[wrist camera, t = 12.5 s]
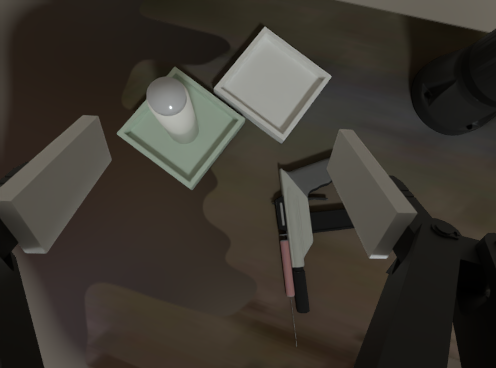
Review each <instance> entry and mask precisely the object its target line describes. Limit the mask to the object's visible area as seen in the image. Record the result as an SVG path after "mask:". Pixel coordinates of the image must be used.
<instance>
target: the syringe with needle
mask: <svg viewBox="0 0 496 368" xmlns="http://www.w3.org/2000/svg"><path fill="white" fill-rule="evenodd" d="M329 160H330V157H329V158H327V159H324V160H321V161H318V162H315V163H312V164H309V165H306V166H304V167H301V168H298V169H295V170H293V171H290V172H287V171H284V170H283V169H282V168H281V169H280V170H279V174H280V182H281V191H282V196H281V197H279V198H278V199H276V200H275V203H272V204H275V206H276V214H277V223H278V229H281V230H284V231H286V232H287V234H280V235H283V236H284V235H287V240H280V245H281V253H282V262H283V270H284V279H285V287H286V296H289V297H291V296H294V295H295V297H296V305H297V312H299V313H307V312H309V311H310V310H309V302H308V294H307V286H306V278H305V271H304V269H303V266H304V257H305V255H306V253H307V251H308V250H309V248H310V246H311V244H312V243H313V235H312V233H317V232H326V231H334V230H342V229H351V228H355V227H354V225H353V223H352V221H351V219H350V217H349V215H348V213H347V211H346V209H338V210H329V211H320V212H311V213H310V212H309V204H308V200H328V198H319V197H314V198H308V195H309V194H310V193H311V192H313V191H316V190H317V189H319V188H321V187H323V186H327V185H329V184H330V183H331V182H332V179H331V177H330V175H329V173H328V171H327V166H328V163H329ZM292 267H293V271H292ZM292 272H293V275H292ZM293 280H294V283H293ZM294 289H295V292H294ZM291 303H292V301H291ZM292 312H293V310H292ZM293 320H294V318H293ZM294 328H295V326H294ZM295 337H296V335H295ZM296 345H297V343H296Z"/></svg>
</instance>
